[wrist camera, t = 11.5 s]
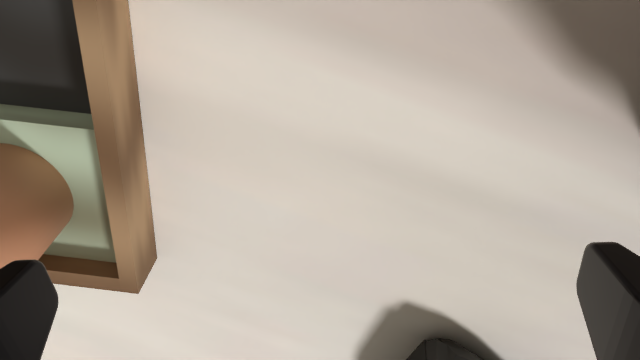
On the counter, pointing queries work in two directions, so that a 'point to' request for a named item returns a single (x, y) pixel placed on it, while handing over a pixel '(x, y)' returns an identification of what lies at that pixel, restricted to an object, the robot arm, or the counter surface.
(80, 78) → the box
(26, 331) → the robot arm
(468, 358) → the pistol
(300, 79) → the counter surface
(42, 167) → the smooth tapered peach-colored object
